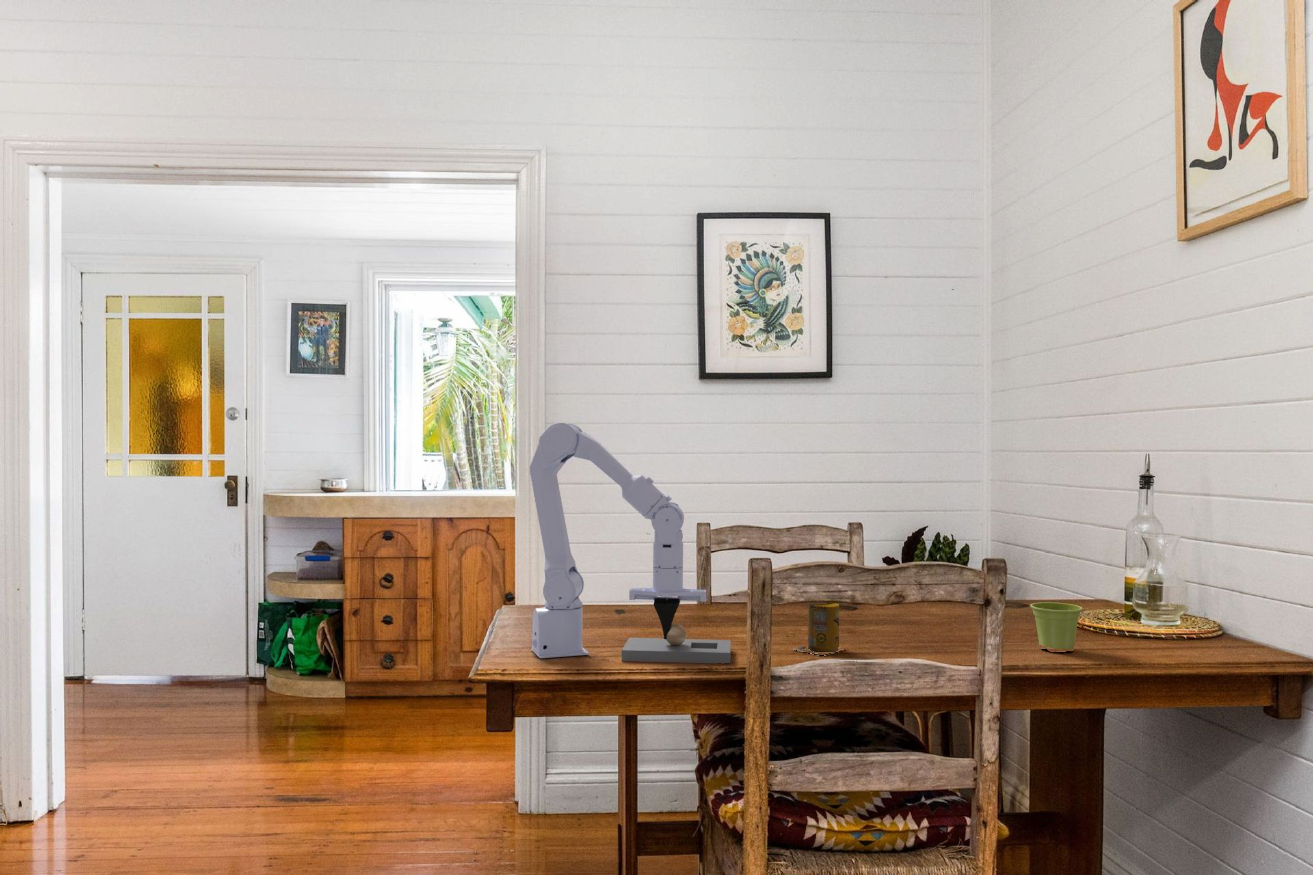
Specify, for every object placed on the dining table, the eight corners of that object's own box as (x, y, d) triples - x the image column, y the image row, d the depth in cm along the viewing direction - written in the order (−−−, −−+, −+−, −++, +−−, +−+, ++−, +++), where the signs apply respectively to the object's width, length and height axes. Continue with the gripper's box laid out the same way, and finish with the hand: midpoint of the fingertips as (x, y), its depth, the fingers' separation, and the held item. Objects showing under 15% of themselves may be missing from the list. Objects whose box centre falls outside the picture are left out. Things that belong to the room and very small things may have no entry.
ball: (666, 646, 168) (673, 625, 168) (659, 639, 172) (666, 619, 172) (685, 650, 170) (691, 630, 170) (678, 643, 173) (684, 623, 173)
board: (621, 660, 166) (621, 650, 166) (629, 647, 177) (629, 637, 177) (730, 663, 164) (730, 652, 164) (730, 650, 175) (730, 639, 175)
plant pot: (1030, 653, 174) (1030, 608, 174) (1030, 643, 183) (1030, 600, 183) (1084, 657, 170) (1083, 611, 170) (1080, 647, 179) (1080, 603, 179)
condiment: (848, 650, 176) (848, 588, 176) (822, 657, 170) (822, 593, 170) (817, 644, 181) (817, 584, 181) (791, 650, 175) (791, 589, 176)
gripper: (627, 568, 168) (626, 641, 168) (705, 570, 166) (704, 643, 166) (632, 563, 175) (631, 633, 175) (706, 565, 173) (706, 635, 173)
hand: (667, 638), depth 171 cm, fingers closed, pressing on ball
